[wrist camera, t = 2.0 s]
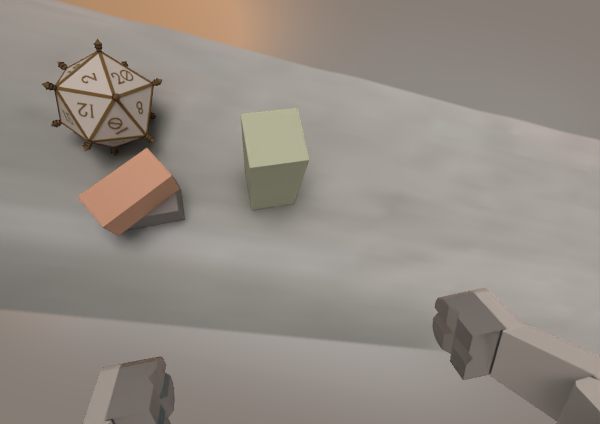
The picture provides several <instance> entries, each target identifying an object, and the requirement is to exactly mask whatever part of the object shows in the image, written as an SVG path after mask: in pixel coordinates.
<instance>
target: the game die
mask: <svg viewBox="0 0 600 424" xmlns="http://www.w3.org/2000/svg"><path fill="white" fill-rule="evenodd" d="M94 45H95V48H96V50H97V51H96V52H95V53H93V54H91V55H89V56H87V57H85V58H84V59H82V60H80V61H78V62H76V63H75V64H73V65H71V66H69V67H67V65H66V64H64V62H58V65H59V66H58V67H60V68H61V69H63V70H65V71H64V72H63V74H62V76H61V77H60V79H59V80H58V82H57V83H56V85H54V84H52V83H49V82H46V83H43V84H42V85H43V86H44V87H45V88H46V90H47V89H49V90H54V91H55V96H56V101H57V107H58V112H59V118H60V120H55V121H53V123H52V125H51V126H54V127H58V126H60V125H61V124H63V125H65V126H66V127H68V128H69V129H71V130H72V131H73V132H75V133H76V134H78V135H79V136H80V137H82V138H83V139H85V140H86V141H87V142H86V143H84V145H83V147H84V150H85V151H87V150H89V149H91V148H90V147H91V143H93V144H98V145H104V146H109V147H112V148H111V153H113V154H114V155H116V154H117V152H118V151H117V150H118V149H117V148H116V147H117V146H120V145H123V144H126V143H129V142H132V141H135V140H138V139H140V138H143V137H146V139H147V140H148V141H149V142H154V143H155V141H154V137H151V135H148V128H149V120H150V118H152V119H153V118H155V117H156V116H155V115H154V113H150V112H151V104H152V95H153V87H154V86H158V85H160V84H161V82H162V80H161V79H157V78H156V80H155V79H154V81H153V82H151V81H149V80H147V79H146V78H144V77H143V76H141V75H139V74H138V73H136V72H134V71H133V70H131V69H130V68H128V67H127V66H128V64H127V62H126V61H125V62H122V64H121V63H120V62H118V61H117V60H115V59H113V58H112V57H110V56H108V55H107V54H105V53H104V52H102V51H101V49H102V44H101V43H100V41H99V40H98V39H97V40H96V42H95V43H94Z"/></svg>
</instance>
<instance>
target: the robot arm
mask: <svg viewBox="0 0 600 424" xmlns="http://www.w3.org/2000/svg"><path fill="white" fill-rule="evenodd" d="M435 308H436V310H437V311H438V313H437V314H436V316H435V317H434V318H433V331H434V335H435V338H436V340H437V342H438V344H439V345H440V347H441V348H442V349H443V350H445V351H446V352H448V353H450V354H451V359H450V362H451V363H452V365H453V366H454V368H455V369H456V370H457V372H458V373H459V375H460V376H461V378H462V379H463V380H467V379H471V378H476V377H481V376H485V375H490V374H491V375H490V376H491V377H493V378H494V379H496V380H497V381H498V382H500V383H501V384H503V385H504V386H506V387H507V388H509V389H510V390H512V391H513V392H515V393H516V394H517V395H519V396H520V397H522V398H523V399H525V400H526V401H528V402H529V403H531V404H532V405H534V406H535V407H537V408H538V409H540V410H541V411H543V412H544V413H546V414H547V415H548V416H550V417H551V418H553V419H554V420H556V421H557V423H556V424H600V356H599V355H597V354H595V353H592V352H590V351H588V350H585V349H583V348H581V347H579V346H576V345H574V344H572V343H569V342H567V341H565V340H563V339H560V338H558V337H556V336H553V335H551V334H549V333H547V332H544V331H542V330H540V329H537V328H535V327H533V326H531V325H523V324H522V323H521V322H520V321H519V320H518V319H517V318H516V317H515V316H514V315H513V314H512V313H511V312H510V311H509V310H508V309H507V308H506V307H505V306H504V305H503V304H502V303H501V302H500V301H499V300H498V299H497V298H496V297H495V296H494V295H493V294H492V293H491V292H490V291H489V290H488V289H486V288H481V289H476V290H472V291H468V292H462V293H457V294H453V295H449V296H444V297H440V298H438V299H437V300H436V303H435ZM165 369H166V364H165V361H164V359H163V357H156V358H150V359H144V360H139V361H134V362H128V363H123V364H119V365H113V366H108V367H104V368H103V369H102V370H101V371H100V373H99V375H98V378H97V381H96V384H95V387H94V390H93V393H92V396H91V399H90V402H89V405H88V408H87V411H86V414H85V418H84V421H83V423H82V424H170V422H169V419H168V418H169V416H170V415H171V413H172V412H173V411H174V387H173V382H172V379H171V376H170V375H169V374H167V373H165Z"/></svg>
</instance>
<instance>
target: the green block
mask: <svg viewBox="0 0 600 424" xmlns="http://www.w3.org/2000/svg"><path fill="white" fill-rule="evenodd" d="M241 126H242V139H243V152H244V165H245V174H246V180H247V186H248V192H249V198H250V204H251V210H256V209H263V208H269V207H276V206H282V205H289V204H294V203H295V200H296V197H297V194H298V191H299V188H300V185H301V182H302V179H303V176H304V173H305V170H306V167H307V164H308V161H309V158H308V153H307V148H306V144H305V139H304V134H303V130H302V125H301V121H300V116H299V111H298V108H291V109H282V110H273V111H264V112H255V113H246V114H241Z"/></svg>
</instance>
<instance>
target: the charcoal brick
mask: <svg viewBox="0 0 600 424" xmlns="http://www.w3.org/2000/svg"><path fill="white" fill-rule="evenodd" d="M173 178H174V177H173ZM174 180H175V179H174ZM175 181H176V180H175ZM176 183H177V182H176ZM177 185H178V184H177ZM178 186H179V185H178ZM179 188H180V187H179ZM180 220H185V217H184V210H183V203H182V196H181V189H179V190H178V191H177V192H175V193H174V194H173V195H171V196H170V197H169V198H167V199H166V200H165V201H163V202H162V203H161V204H160V205H158V206H157V207H156V208H154V209H153V210H152V211H150V212H149V213H148V214H147V215H145V216H144V217H143V218H141V219H140V220H139V221H137V222H136V223H135V224H133V225H132V226H131V227H130V228H128V229H127V230H130V229H135V228H141V227H146V226H152V225H158V224H163V223H169V222H174V221H180Z"/></svg>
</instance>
